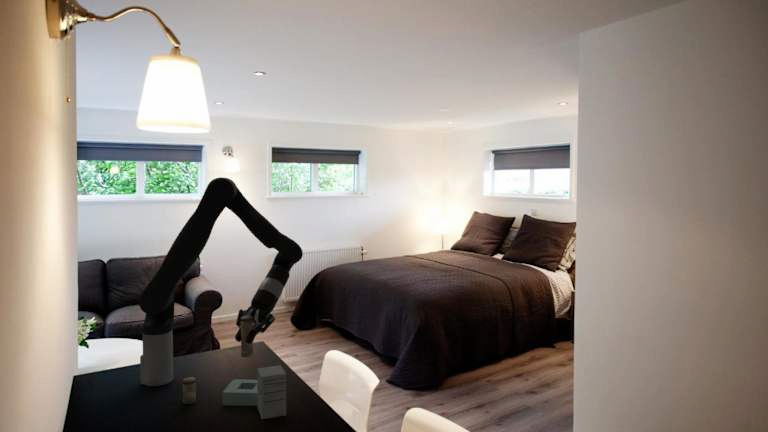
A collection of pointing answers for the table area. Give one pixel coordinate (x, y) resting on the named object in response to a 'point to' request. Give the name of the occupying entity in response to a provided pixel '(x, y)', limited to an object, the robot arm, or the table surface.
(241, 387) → the socket block
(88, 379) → the table surface
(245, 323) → the tall pin
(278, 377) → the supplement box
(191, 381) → the short pin
